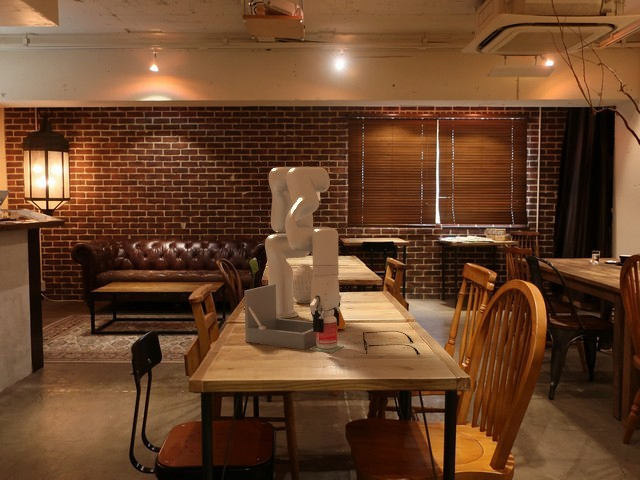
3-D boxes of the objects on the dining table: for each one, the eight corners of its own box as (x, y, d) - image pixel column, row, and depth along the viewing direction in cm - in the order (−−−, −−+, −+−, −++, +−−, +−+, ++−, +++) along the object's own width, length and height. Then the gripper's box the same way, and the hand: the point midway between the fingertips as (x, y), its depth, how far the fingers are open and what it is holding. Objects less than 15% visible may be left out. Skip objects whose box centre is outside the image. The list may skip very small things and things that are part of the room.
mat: (309, 349, 156) (309, 348, 156) (321, 344, 163) (321, 342, 163) (332, 352, 153) (332, 351, 153) (344, 346, 159) (344, 345, 159)
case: (245, 342, 167) (244, 290, 166) (274, 331, 181) (273, 284, 180) (303, 349, 157) (302, 295, 156) (329, 337, 171) (328, 287, 170)
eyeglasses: (361, 342, 165) (361, 330, 165) (413, 342, 165) (413, 329, 165) (364, 357, 149) (364, 343, 149) (421, 357, 148) (421, 342, 148)
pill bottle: (341, 347, 157) (340, 309, 156) (323, 350, 154) (323, 312, 153) (329, 343, 162) (328, 306, 162) (312, 346, 159) (311, 309, 158)
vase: (302, 298, 245) (301, 262, 244) (325, 301, 238) (324, 263, 237) (284, 303, 235) (283, 265, 234) (308, 305, 228) (307, 266, 227)
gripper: (328, 267, 166) (329, 321, 167) (299, 273, 151) (300, 333, 152) (350, 268, 162) (350, 324, 163) (322, 274, 147) (323, 336, 148)
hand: (326, 328), depth 157 cm, fingers open, 9 cm apart
